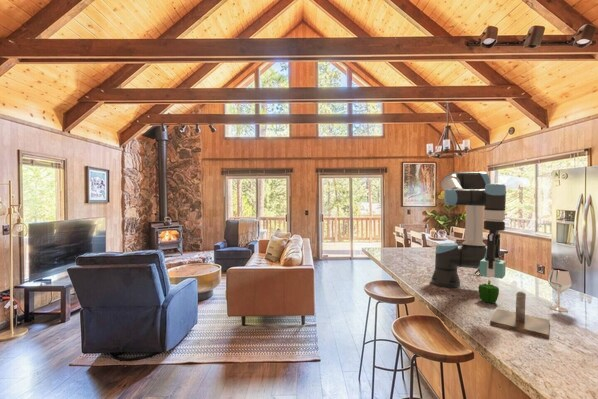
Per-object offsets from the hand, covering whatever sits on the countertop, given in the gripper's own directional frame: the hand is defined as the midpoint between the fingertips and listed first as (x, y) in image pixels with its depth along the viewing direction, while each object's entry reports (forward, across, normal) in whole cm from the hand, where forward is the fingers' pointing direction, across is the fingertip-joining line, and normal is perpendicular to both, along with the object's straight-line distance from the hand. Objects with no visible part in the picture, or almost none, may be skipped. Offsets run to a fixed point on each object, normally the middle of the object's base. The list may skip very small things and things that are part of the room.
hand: (492, 274), depth 131 cm
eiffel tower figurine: (+18, +79, +19) cm, 83 cm away
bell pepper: (+18, +21, +5) cm, 28 cm away
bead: (0, 0, 0) cm, 0 cm away
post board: (+18, 0, -10) cm, 20 cm away
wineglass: (+18, +33, -21) cm, 43 cm away
